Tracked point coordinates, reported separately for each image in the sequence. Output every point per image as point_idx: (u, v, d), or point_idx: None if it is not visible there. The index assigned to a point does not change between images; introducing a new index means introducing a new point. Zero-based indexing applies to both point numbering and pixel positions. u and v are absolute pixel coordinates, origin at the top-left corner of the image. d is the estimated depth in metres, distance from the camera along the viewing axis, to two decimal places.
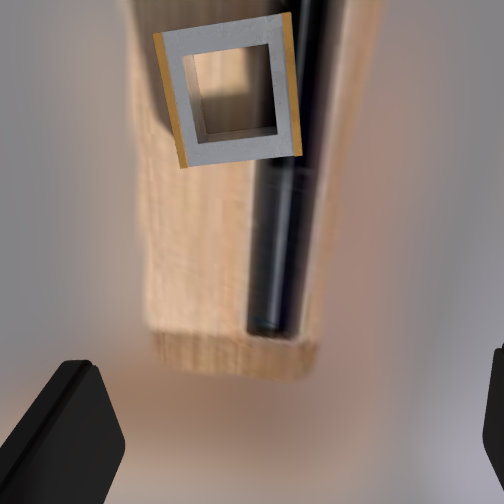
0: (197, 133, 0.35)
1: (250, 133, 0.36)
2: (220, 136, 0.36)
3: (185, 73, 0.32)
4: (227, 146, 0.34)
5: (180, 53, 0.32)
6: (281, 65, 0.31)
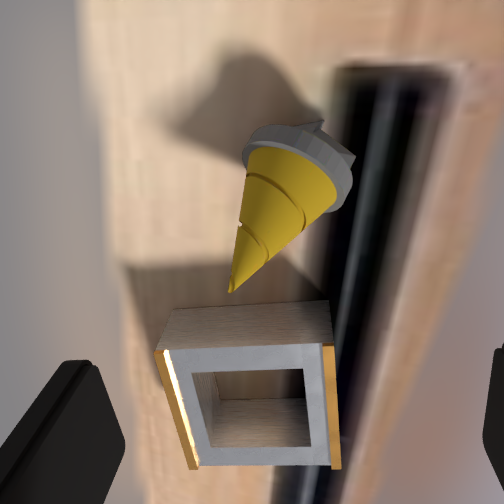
0: (210, 432, 0.28)
1: (275, 423, 0.29)
2: (237, 420, 0.29)
3: (195, 384, 0.26)
4: (247, 451, 0.28)
5: (189, 369, 0.25)
6: (319, 388, 0.24)
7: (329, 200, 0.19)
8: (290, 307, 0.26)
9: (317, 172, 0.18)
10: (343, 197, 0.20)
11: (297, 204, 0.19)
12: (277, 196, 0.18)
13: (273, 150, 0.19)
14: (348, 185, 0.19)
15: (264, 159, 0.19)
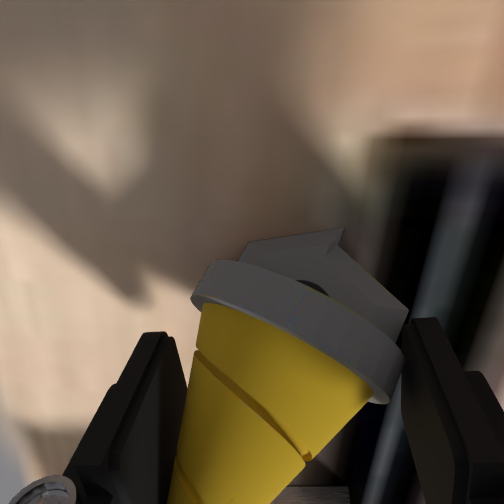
0: None
1: None
2: None
3: None
4: None
5: None
6: None
7: (359, 409, 0.10)
8: (286, 499, 0.16)
9: (337, 373, 0.09)
10: (387, 401, 0.10)
11: (294, 434, 0.09)
12: (251, 426, 0.09)
13: (244, 322, 0.09)
14: (397, 379, 0.10)
15: (226, 335, 0.09)
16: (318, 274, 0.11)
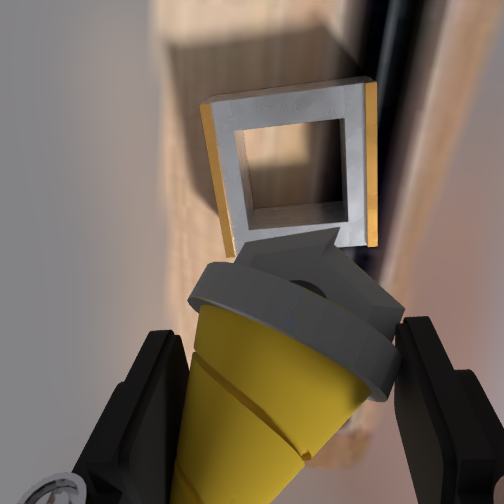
0: (247, 216, 0.29)
1: (310, 214, 0.29)
2: (273, 216, 0.30)
3: (237, 150, 0.26)
4: (284, 233, 0.28)
5: (232, 127, 0.25)
6: (359, 142, 0.25)
7: (357, 408, 0.10)
8: (328, 81, 0.27)
9: (335, 374, 0.09)
10: (384, 399, 0.10)
11: (293, 435, 0.09)
12: (250, 427, 0.09)
13: (242, 324, 0.09)
14: (395, 377, 0.10)
15: (224, 337, 0.09)
16: (314, 273, 0.11)
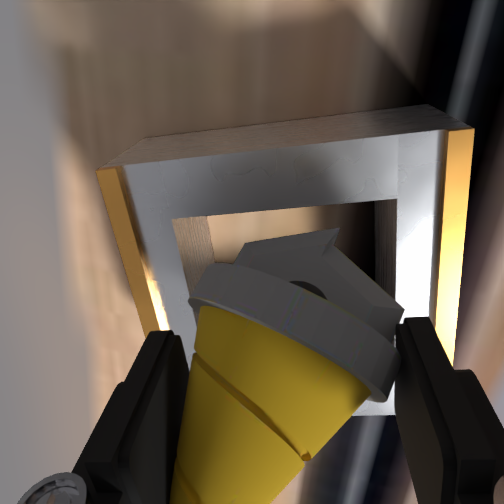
0: None
1: None
2: None
3: (181, 251, 0.13)
4: None
5: (168, 212, 0.13)
6: (424, 245, 0.12)
7: (357, 408, 0.10)
8: (357, 115, 0.14)
9: (335, 375, 0.09)
10: (384, 400, 0.10)
11: (293, 435, 0.09)
12: (250, 428, 0.09)
13: (242, 325, 0.09)
14: (394, 378, 0.10)
15: (224, 338, 0.09)
16: (314, 274, 0.11)
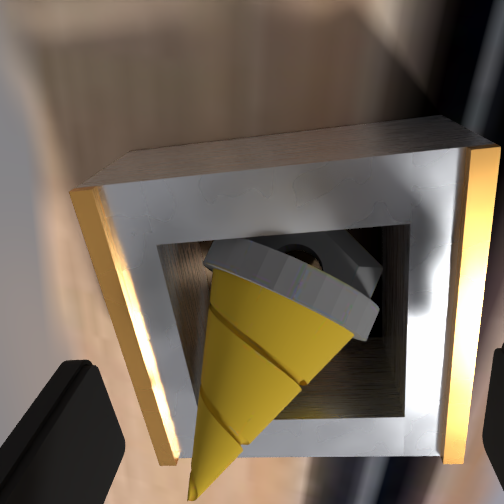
0: None
1: (323, 377, 0.15)
2: None
3: (168, 279, 0.12)
4: (273, 429, 0.14)
5: (152, 237, 0.11)
6: (440, 275, 0.11)
7: (342, 347, 0.12)
8: (363, 127, 0.13)
9: (329, 328, 0.11)
10: (363, 340, 0.12)
11: (294, 371, 0.12)
12: (263, 369, 0.11)
13: (256, 290, 0.11)
14: None
15: (240, 300, 0.11)
16: (310, 238, 0.13)
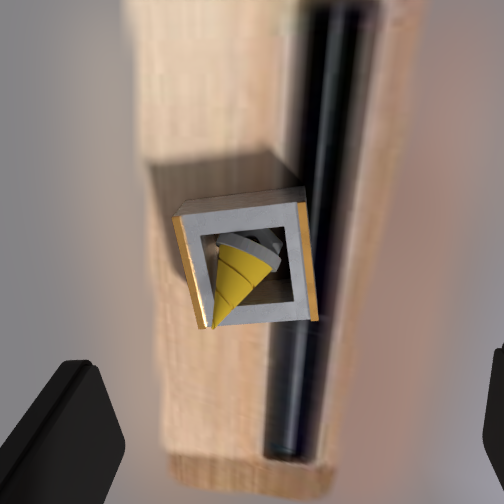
0: None
1: (266, 292, 0.36)
2: None
3: (203, 248, 0.33)
4: (244, 310, 0.35)
5: (198, 232, 0.33)
6: (297, 244, 0.32)
7: (267, 272, 0.34)
8: (275, 191, 0.34)
9: (259, 262, 0.32)
10: (275, 270, 0.34)
11: (249, 279, 0.33)
12: (237, 277, 0.32)
13: (234, 250, 0.32)
14: (278, 263, 0.33)
15: (229, 253, 0.32)
16: (255, 233, 0.34)
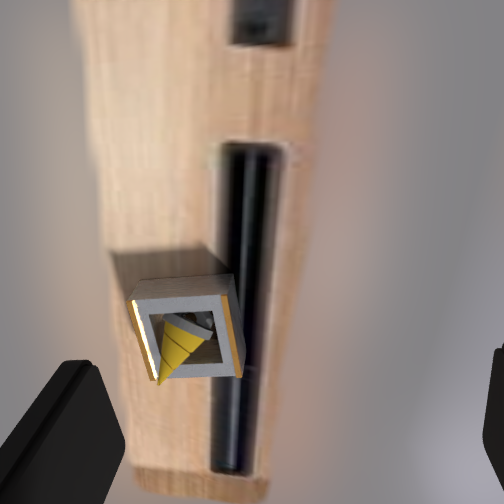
0: None
1: (204, 352, 0.46)
2: None
3: (152, 322, 0.43)
4: (185, 367, 0.45)
5: (147, 312, 0.42)
6: (222, 323, 0.42)
7: (201, 342, 0.43)
8: (209, 277, 0.44)
9: (193, 336, 0.42)
10: None
11: (186, 348, 0.42)
12: (176, 347, 0.42)
13: (174, 327, 0.42)
14: (210, 335, 0.43)
15: (170, 329, 0.42)
16: None
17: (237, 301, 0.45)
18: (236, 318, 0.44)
